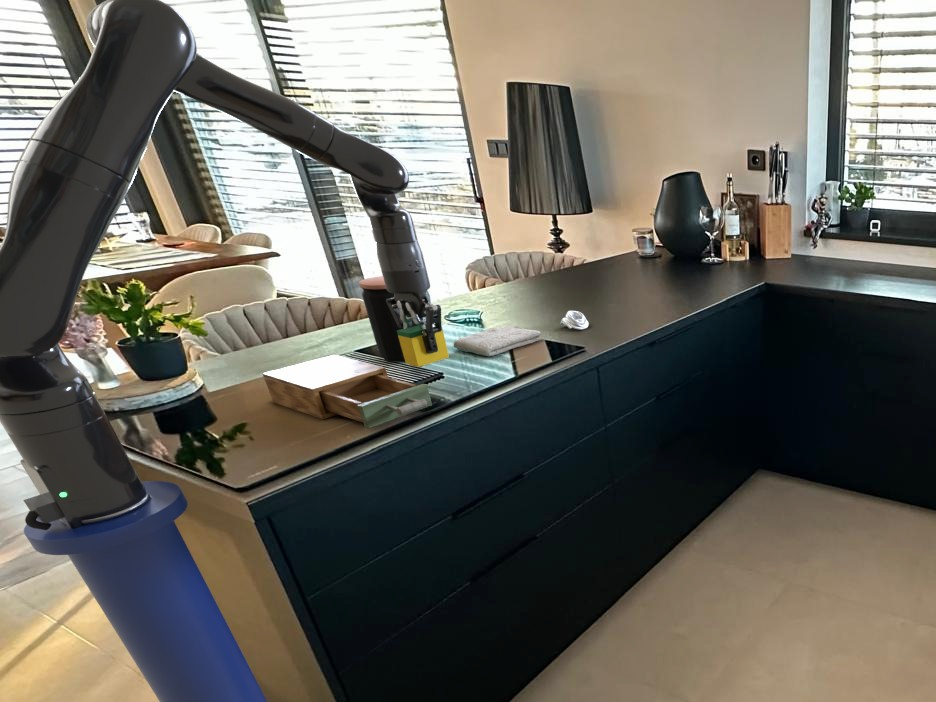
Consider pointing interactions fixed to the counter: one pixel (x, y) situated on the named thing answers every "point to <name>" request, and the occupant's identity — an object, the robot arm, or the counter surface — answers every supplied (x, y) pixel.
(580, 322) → the whipped cream
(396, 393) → the drawer
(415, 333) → the sponge
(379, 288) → the coffee jar
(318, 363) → the cabinet
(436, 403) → the counter surface
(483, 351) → the washcloth
